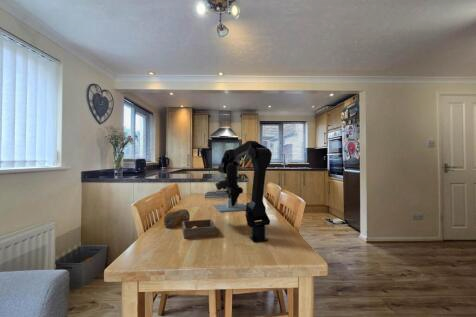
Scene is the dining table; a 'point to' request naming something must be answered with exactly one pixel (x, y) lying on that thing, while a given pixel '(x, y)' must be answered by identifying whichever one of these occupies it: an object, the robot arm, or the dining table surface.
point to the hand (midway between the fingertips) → (232, 205)
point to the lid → (230, 207)
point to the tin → (176, 218)
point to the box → (199, 228)
